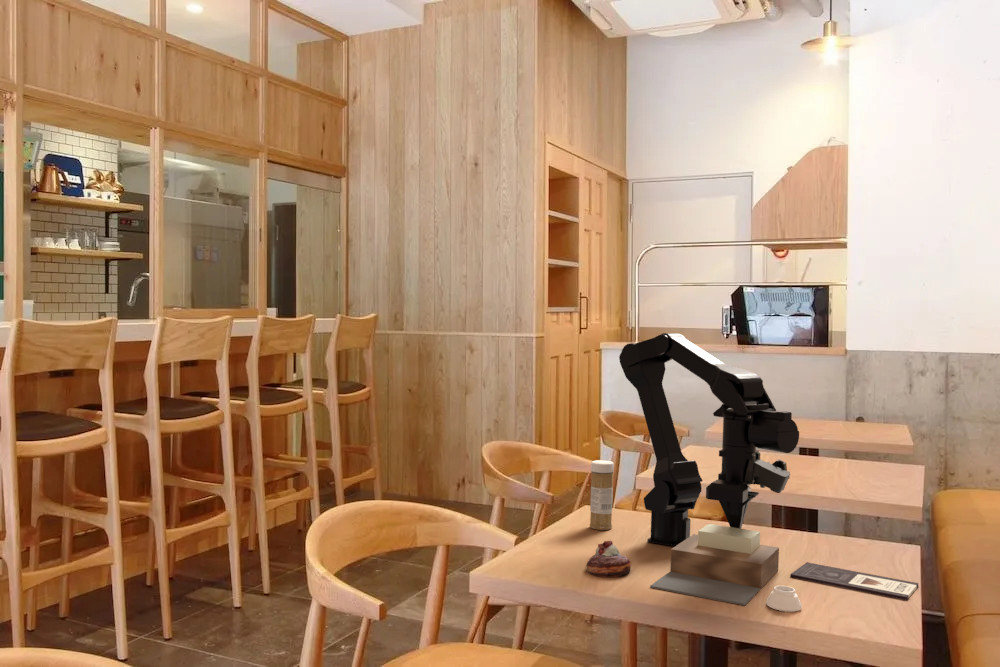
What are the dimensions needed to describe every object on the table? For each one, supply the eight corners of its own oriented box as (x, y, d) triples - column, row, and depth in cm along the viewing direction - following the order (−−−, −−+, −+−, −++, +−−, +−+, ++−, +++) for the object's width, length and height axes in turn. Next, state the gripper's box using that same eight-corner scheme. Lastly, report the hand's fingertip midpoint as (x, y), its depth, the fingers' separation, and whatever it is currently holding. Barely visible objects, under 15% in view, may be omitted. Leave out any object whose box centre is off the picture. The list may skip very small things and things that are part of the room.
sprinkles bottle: (608, 525, 180) (610, 459, 179) (614, 530, 175) (616, 463, 175) (586, 525, 179) (588, 459, 179) (591, 530, 175) (593, 463, 174)
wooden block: (670, 572, 148) (671, 549, 148) (692, 556, 158) (693, 534, 158) (760, 589, 140) (761, 564, 140) (778, 570, 151) (779, 547, 151)
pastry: (600, 562, 154) (601, 534, 153) (639, 571, 149) (640, 542, 149) (577, 573, 147) (577, 543, 147) (616, 582, 143) (617, 551, 143)
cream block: (697, 545, 151) (698, 530, 151) (708, 537, 156) (708, 523, 156) (750, 553, 146) (751, 539, 146) (759, 545, 151) (760, 531, 151)
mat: (650, 587, 140) (650, 585, 140) (669, 573, 148) (669, 571, 148) (745, 605, 132) (745, 603, 132) (760, 589, 140) (760, 588, 140)
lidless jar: (766, 611, 130) (802, 615, 129) (767, 591, 130) (803, 595, 129) (766, 600, 135) (800, 604, 134) (766, 581, 135) (801, 585, 134)
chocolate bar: (806, 562, 155) (918, 583, 144) (806, 567, 155) (918, 588, 144) (790, 574, 147) (906, 597, 137) (790, 579, 147) (906, 603, 137)
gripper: (774, 456, 142) (771, 552, 142) (797, 442, 158) (794, 529, 159) (706, 449, 148) (703, 542, 148) (735, 437, 164) (732, 520, 164)
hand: (736, 533), depth 155 cm, fingers closed
